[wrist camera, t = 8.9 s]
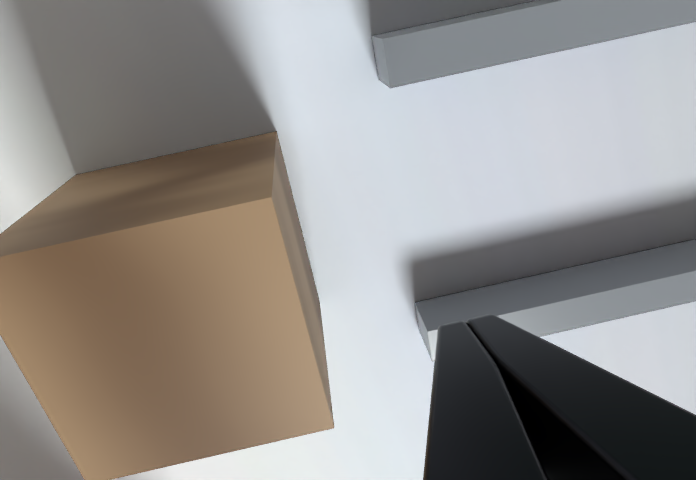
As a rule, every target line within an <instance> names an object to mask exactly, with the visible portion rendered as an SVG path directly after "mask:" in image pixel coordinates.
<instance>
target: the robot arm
mask: <svg viewBox="0 0 696 480" xmlns="http://www.w3.org/2000/svg"><path fill="white" fill-rule="evenodd" d="M423 480H696V415H695V414H693V413H691V412H689V411H687V410H685V409H683V408H681V407H679V406H677V405H675V404H673V403H671V402H669V401H667V400H665V399H663V398H661V397H659V396H657V395H655V394H652V393H650V392H648V391H646V390H644V389H642V388H640V387H638V386H636V385H634V384H632V383H630V382H628V381H626V380H624V379H622V378H620V377H618V376H616V375H614V374H612V373H610V372H608V371H606V370H604V369H602V368H600V367H598V366H596V365H594V364H592V363H590V362H588V361H586V360H584V359H582V358H580V357H578V356H576V355H574V354H572V353H570V352H568V351H566V350H564V349H562V348H560V347H558V346H556V345H554V344H552V343H550V342H548V341H546V340H544V339H542V338H540V337H538V336H536V335H534V334H532V333H530V332H528V331H526V330H524V329H522V328H520V327H518V326H516V325H514V324H512V323H510V322H508V321H506V320H504V319H502V318H500V317H498V316H496V315H493V314H487V315H483V316H478V317H474V318H469V319H468V320H467V321H466V322H464V321H456V322H452V323H447V324H443V325H440V326H439V327H438V331H437V342H436V352H435V363H434V373H433V384H432V394H431V404H430V415H429V425H428V435H427V446H426V456H425V467H424V477H423Z"/></svg>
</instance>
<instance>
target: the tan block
mask: <svg viewBox="0 0 696 480" xmlns="http://www.w3.org/2000/svg"><path fill="white" fill-rule="evenodd" d="M0 335H1V337H2V339H3V340H4V342H5V344H6V346H7V347H8V349H9V351H10V352H11V354H12V356H13V358H14V359H15V361H16V363H17V364H18V366H19V368H20V370H21V371H22V373H23V375H24V377H25V378H26V380H27V382H28V383H29V385H30V387H31V389H32V390H33V392H34V394H35V396H36V397H37V399H38V401H39V402H40V404H41V406H42V408H43V409H44V411H45V413H46V414H47V416H48V418H49V420H50V421H51V423H52V425H53V427H54V428H55V430H56V432H57V433H58V435H59V437H60V439H61V440H62V442H63V444H64V445H65V447H66V449H67V451H68V452H69V454H70V456H71V458H72V459H73V461H74V463H75V464H76V466H77V468H78V470H79V471H80V473H81V475H82V476H83V478H84V480H111V479H115V478H119V477H124V476H128V475H132V474H137V473H141V472H145V471H150V470H154V469H158V468H163V467H167V466H171V465H176V464H180V463H185V462H189V461H193V460H198V459H202V458H206V457H211V456H215V455H219V454H224V453H228V452H232V451H237V450H241V449H245V448H250V447H254V446H258V445H263V444H267V443H271V442H276V441H280V440H284V439H289V438H293V437H297V436H302V435H306V434H310V433H315V432H319V431H324V430H328V429H332V428H334V422H333V413H332V405H331V396H330V388H329V379H328V370H327V362H326V353H325V345H324V336H323V327H322V319H321V310H320V302H319V298H318V294H317V290H316V286H315V282H314V278H313V274H312V270H311V266H310V262H309V258H308V254H307V250H306V246H305V242H304V238H303V234H302V230H301V226H300V222H299V218H298V214H297V210H296V207H295V203H294V199H293V195H292V191H291V187H290V183H289V179H288V175H287V171H286V167H285V163H284V159H283V155H282V151H281V147H280V143H279V139H278V135H277V131H275V132H271V133H266V134H262V135H257V136H252V137H248V138H243V139H239V140H234V141H229V142H225V143H220V144H216V145H211V146H206V147H202V148H197V149H192V150H188V151H183V152H179V153H174V154H169V155H165V156H160V157H156V158H151V159H146V160H142V161H137V162H133V163H128V164H123V165H119V166H114V167H110V168H105V169H100V170H96V171H91V172H86V173H82V174H77V175H75V176H74V177H72V178H71V179H70V180H69V181H67V182H66V183H65V184H63V185H62V186H61V187H60V188H58V189H57V190H56V191H55V192H53V193H52V194H51V195H49V196H48V197H47V198H46V199H44V200H43V201H42V202H41V203H39V204H38V205H37V206H35V207H34V208H33V209H32V210H30V211H29V212H28V213H26V214H25V215H24V216H23V217H21V218H20V219H19V220H18V221H16V222H15V223H14V224H12V225H11V226H10V227H9V228H7V229H6V230H5V231H4V232H2V233H1V234H0Z"/></svg>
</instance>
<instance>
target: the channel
mask: <svg viewBox="0 0 696 480" xmlns="http://www.w3.org/2000/svg"><path fill="white" fill-rule="evenodd" d="M693 22H696V0H536V1H532V2H527V3H522V4H518V5H513V6H509V7H504V8H499V9H495V10H490V11H485V12H481V13H476V14H471V15H467V16H462V17H457V18H453V19H448V20H443V21H439V22H434V23H429V24H425V25H420V26H415V27H411V28H406V29H401V30H397V31H392V32H388V33H383V34H378V35H374V36H372V41H373V47H374V53H375V59H376V66H377V72H378V78H379V80H380V81H381V82H383V83H384V84H385V85H387V86H388V87H389V88H393V87H398V86H403V85H407V84H412V83H416V82H421V81H426V80H430V79H435V78H439V77H444V76H449V75H453V74H458V73H463V72H467V71H472V70H476V69H481V68H486V67H490V66H495V65H499V64H504V63H509V62H513V61H518V60H522V59H527V58H532V57H536V56H541V55H545V54H550V53H555V52H559V51H564V50H568V49H573V48H578V47H582V46H587V45H591V44H596V43H601V42H605V41H610V40H614V39H619V38H624V37H628V36H633V35H637V34H642V33H647V32H651V31H656V30H660V29H665V28H670V27H674V26H679V25H684V24H688V23H693ZM694 301H696V239H694V240H690V241H685V242H681V243H677V244H672V245H668V246H663V247H659V248H654V249H650V250H646V251H641V252H637V253H632V254H628V255H624V256H619V257H615V258H610V259H606V260H601V261H597V262H593V263H588V264H584V265H579V266H575V267H570V268H566V269H562V270H557V271H553V272H548V273H544V274H540V275H535V276H531V277H526V278H522V279H517V280H513V281H509V282H504V283H500V284H495V285H491V286H486V287H482V288H478V289H473V290H469V291H464V292H460V293H456V294H451V295H447V296H442V297H438V298H433V299H429V300H425V301H420V302H416V303H415V307H416V313H417V320H418V326H419V331H420V334H421V336H422V338H423V341H424V343H425V346H426V348H427V350H428V353H429V355H430V358H431V360H432V361H435V352H436V342H437V331H438V327H439V326H440V325H443V324H447V323H452V322H456V321H464V322H466V321H467V320H468V319H469V318H474V317H478V316H483V315H487V314H493V315H496V316H498V317H500V318H502V319H504V320H506V321H508V322H510V323H512V324H514V325H516V326H518V327H520V328H522V329H524V330H526V331H528V332H530V333H532V334H534V335H536V336H538V337H541V336H546V335H550V334H554V333H559V332H563V331H567V330H572V329H576V328H580V327H585V326H589V325H594V324H598V323H602V322H607V321H611V320H615V319H620V318H624V317H629V316H633V315H637V314H642V313H646V312H650V311H655V310H659V309H664V308H668V307H672V306H677V305H681V304H685V303H690V302H694Z"/></svg>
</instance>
